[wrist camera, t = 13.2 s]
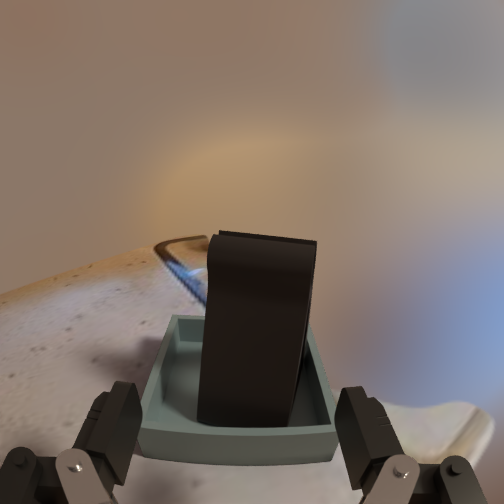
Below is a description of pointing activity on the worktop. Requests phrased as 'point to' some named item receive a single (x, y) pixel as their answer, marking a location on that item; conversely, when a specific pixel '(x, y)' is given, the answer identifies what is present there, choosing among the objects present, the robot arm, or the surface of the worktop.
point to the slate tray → (224, 438)
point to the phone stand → (254, 328)
